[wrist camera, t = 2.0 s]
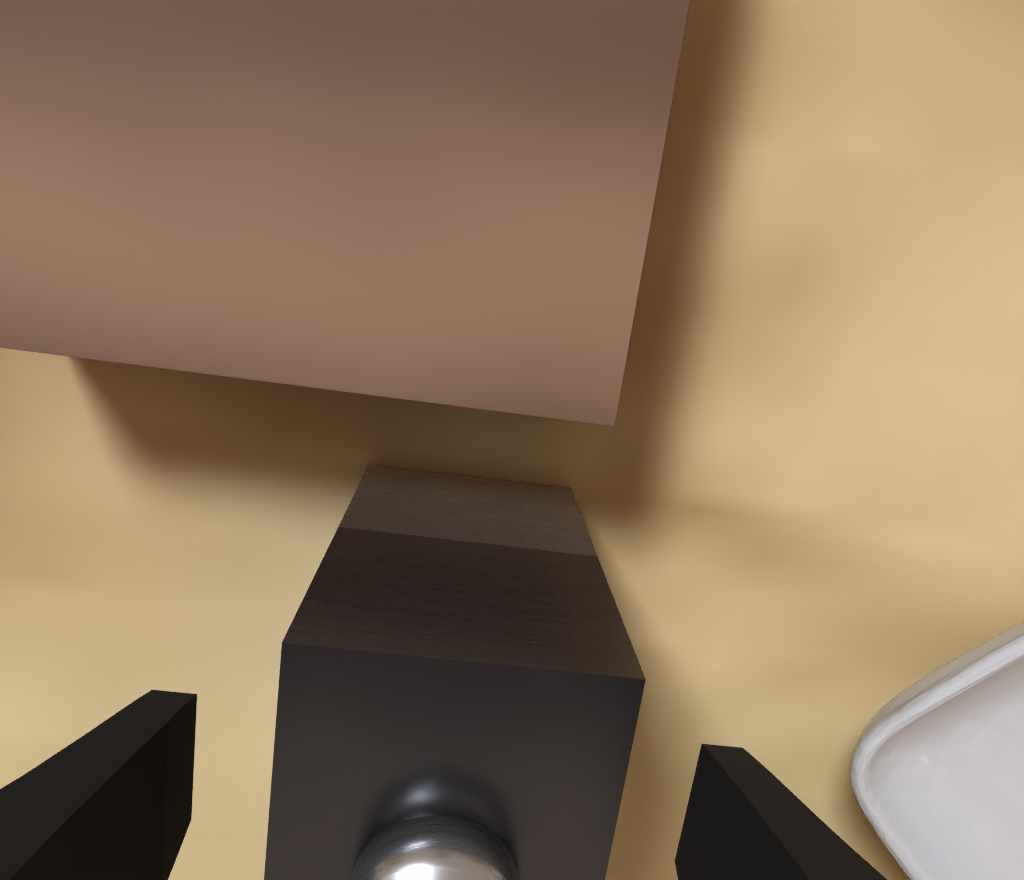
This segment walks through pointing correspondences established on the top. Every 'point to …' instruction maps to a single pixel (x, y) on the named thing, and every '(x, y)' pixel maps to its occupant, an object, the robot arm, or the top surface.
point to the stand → (338, 190)
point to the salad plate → (951, 767)
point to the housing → (453, 691)
